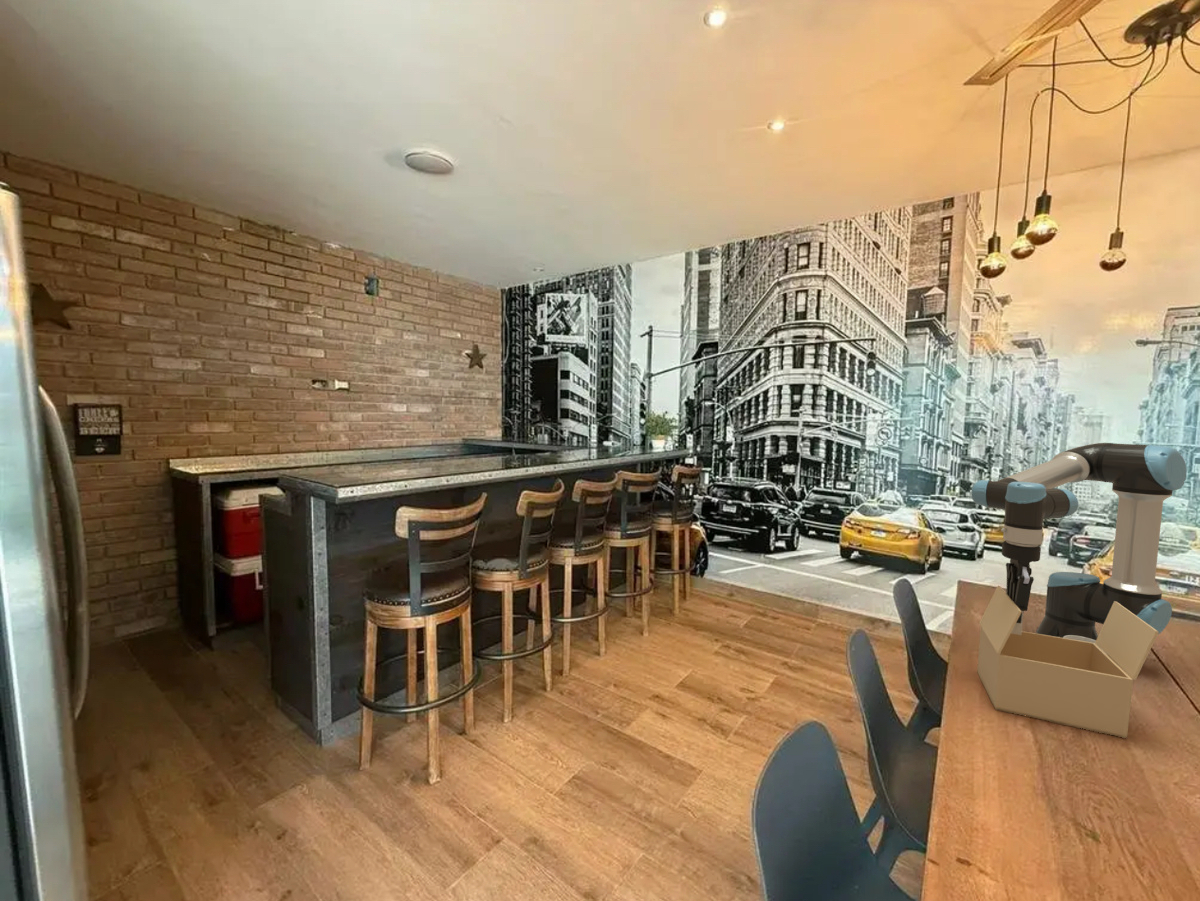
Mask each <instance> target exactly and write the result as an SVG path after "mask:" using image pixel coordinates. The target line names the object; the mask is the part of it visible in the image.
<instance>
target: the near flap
mask: <svg viewBox="0 0 1200 901" xmlns="http://www.w3.org/2000/svg"><path fill="white" fill-rule="evenodd" d="M1158 633H1159V632H1158V631H1157V630H1155V629H1154V628H1153V627H1151V626H1150V625H1149V624H1147V623H1146V622H1144V621H1143V620H1142V619H1140V618H1139V617H1137V616H1136V615H1135V614H1133V613H1132V612H1130V611H1129V610H1128V609H1126V608H1125V607H1123V606H1122V605H1121V604H1119V603H1118V602H1116V601H1114V603H1113V605H1112V607H1111V609H1110V611H1109V613H1108V616H1107V618H1106V620H1105V622H1104V624H1102V627H1101V629H1100V631H1099V633H1098V634H1097V635H1098V637H1097V639H1096V642H1095V643H1096V644H1097V645H1098V646H1099V647H1100V648H1101V649H1102V650H1103V651H1104V652H1105V653H1107V654H1108V656H1109V657H1110V658H1111V659H1112V660H1113V661H1114V662H1115V663H1116V664H1117V665H1118V666H1119V667H1120V668H1121V669H1122V670H1123V671H1125V672H1126V673H1127V674H1128V675H1129V676H1130V677H1131V678H1132V679H1133V680H1137V679H1138V676H1139V675H1140V672H1141V670H1142V668H1143V666H1144V664H1145V661H1146V659H1147V657H1148V655H1149V654H1150V651H1151V649H1152V647H1153V645H1154V643H1155V641H1156V639H1157V637H1158V635H1159V634H1158Z"/></svg>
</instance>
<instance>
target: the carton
mask: <svg viewBox="0 0 1200 901" xmlns="http://www.w3.org/2000/svg"><path fill="white" fill-rule="evenodd" d="M979 631H980V632H979V645H978V646H979V647H978V655H977V656H978V657H977V658H978V659H977V668H976V669H977V670H976V673H977V675H978V676H979V679H980V681H981V684H982V685H983V687H984V689H985V691H986V694H987V696H988V697H989V700H990V702H991V703H992V706H993V708H994V710H995V711H999V712H1004V713H1009V714H1012V713H1014V714H1013V715H1017V714H1019V715H1018V716H1021V715H1026V716H1030V717H1034V718H1033V719H1035V718H1037V719H1036V720H1039V719H1042V720H1041V721H1044V720H1047V721H1046V722H1048V721H1049V722H1050V723H1052V724H1053V723H1054V724H1058V725H1062V726H1068V727H1071V728H1075V727H1076V729H1080V728H1081V730H1084V729H1086V730H1085V731H1089V730H1090V732H1093V731H1094V733H1098V732H1099V734H1102V733H1105V734H1104V735H1107V734H1110V735H1109V736H1111V735H1115V736H1114V737H1116V736H1118V737H1117V738H1120V737H1122V738H1121V739H1125V738H1126V740H1128V731H1129V723H1130V713H1131V706H1132V704H1131V703H1132V696H1133V687H1134V679H1133V678H1132V677H1131V676H1130V675H1129V674H1128V673H1127V672H1125V671H1124V670H1123V669H1122V668H1121V667H1120V666H1119V665H1118V664H1117V663H1116V662H1115V661H1114V660H1113V659H1112V658H1111V657H1110V656H1109V655H1107V654H1106V653H1105V652H1104V651H1102V650H1101V649H1100V648H1099V647H1098V646H1097V645H1096V644H1095V643H1091V642H1085V641H1079V640H1073V639H1067V638H1061V637H1055V636H1049V635H1043V634H1037V633H1036V632H1029V631H1024V630H1022V635H1017V634H1010V635H1009V637H1008V639H1007V641H1006V643H1005V645H1004V647H1003V649H1002V651H1001V653H1000V654H998V653H997V652H996V650H995V649H994V647H993V645H992V644H991V642H990V640H989V639H988V637H987V635H986V634H985V632H984V630H983V629H982V627H981V626H980V630H979ZM1026 716H1025V717H1026ZM1030 717H1029V718H1030ZM1082 728H1083V729H1082Z"/></svg>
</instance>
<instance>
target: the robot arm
mask: <svg viewBox="0 0 1200 901" xmlns="http://www.w3.org/2000/svg"><path fill="white" fill-rule="evenodd" d="M1186 480H1187V465H1186V461H1185V458H1184V457H1183V456H1182V454H1181V452H1179V451H1178V450H1177V449H1175V448H1173V447H1170V446H1164V445H1157V444H1156V445H1155V444H1131V443H1113V442H1097V443H1090V444H1085V445H1081V446H1077V447H1074V448H1070V449H1066V450H1064V451H1062V452H1059V453H1057V454H1056V455H1054V456H1053V457H1052V459H1051V460H1048V461H1046V462H1043V463H1040V464H1038V465H1035V466H1032V467H1030V468H1028V469H1025V470H1023V471H1019V472H1018V473H1014V474H1012V475H1009V476H1006V477H1004V478H1001V479H999V480H998V479H997V480H994V481H993V480H990V479H987V480H984V479H980V480H978V481H976V482H975V483H974V484H973V486H972V488H971V499H972V501H973V502H974V503H975V504H976V505H977V506H982V507H986V508H988V509H989V508H991V509H997V510H1002V511H1004V522H1003V524H1004V525H1003V527H1004V528H1001V529H1000V532H1001V533H1003V539H1002V540H1003V542H1002V545H1001V555H1002V556H1003V557H1004V558H1006V559H1010V560H1009V562H1006V564H1005V569H1006V591H1005V592H1006V594H1007V595H1008V596H1009V597H1010V598H1011V599H1012V601H1013V602H1014V603H1015V604H1016V605H1017V607H1018V608H1019V609H1020V610H1021V611H1022V613H1021V614H1020V616H1019V618H1018V620H1017V622H1016V624H1015V626H1014V628H1013V630H1012V632H1011V634H1017V635H1022V631H1023V626H1024V625H1023V622H1024V612H1027V611H1028V607H1029V602H1030V597H1031V596H1030V595H1031V592H1032V591H1031V590H1032V585H1033V583H1034V580H1035V578H1034V576H1032V574H1033V573H1032V567H1031V566H1030V563H1032V562H1033V563H1036V562H1039V561H1040V560H1041V553H1042V552H1041V550H1042V547H1040V545H1042V543H1043V530H1044V529H1043V525H1044V520H1045V519H1048V520H1050V519H1063V518H1066V517H1069V516H1072V515H1073V514H1075V513H1076V512H1077V510H1078V507H1079V500H1078V498H1077V496H1076V495H1075V493H1073V491H1070V490H1069V489H1065V488H1058V487H1060V486H1062V485H1065V484H1068V483H1071V484H1072V483H1073V484H1075V483H1079V482H1082V481H1094V482H1103V483H1108V484H1109V483H1110V484H1112V488H1111V489H1112V490H1111V491H1112V492H1113V493H1115V494H1116V495H1117V496H1118V501H1117V502H1118V504H1117V505H1118V506H1117V514H1116V523H1115V524H1116V526H1115V536H1114V544H1113V546H1114V547H1113V556H1112V565H1111V566H1112V567H1111V576H1110V577H1108V578H1106V579H1104V580H1103V582H1102V583H1101V579H1100V577H1099V576H1097V575H1094V574H1089V573H1082V572H1072V571H1057V572H1053V573H1051V574H1049V576H1048V579H1047V584H1046V588H1047V589H1046V600H1045V610H1044V611H1045V612H1044V617H1043V618H1042V620H1041V622H1040V624H1039V625H1038V627H1037V629H1036V632H1035V633H1037V634H1043V635H1049V636H1055V637H1061V638H1063V637H1064V636H1066V635H1075V636H1081V637H1086V638H1090V639H1093V640H1096V639H1097V637H1098V635H1099V634H1098V632H1097V629H1096V623H1097V624H1101V625H1103V624H1104V622H1105V620H1106V618H1107V616H1108V613H1109V611H1110V609H1111V607H1112V605H1113V603H1114V601H1116V602H1118V603H1119V604H1121V605H1122V606H1123V607H1125V608H1126V609H1128V610H1129V611H1130V612H1132V613H1133V614H1135V615H1136V616H1137V617H1139V618H1140V619H1142V620H1143V621H1144V622H1146V623H1147V624H1149V625H1150V626H1151V627H1153V628H1154V629H1155V630H1157V631H1158V632H1159V633H1158V635H1160V634H1161V633H1162V632H1163V631H1164V630H1165V629H1166V627H1167V625H1168V624H1169V622H1170V620H1171V617H1172V613H1173V607H1172V604H1171V602H1170V601H1168V600H1166V599H1163V598H1162V595H1163V591H1162V589H1160V588H1159V587H1158V586H1157V585H1156V575H1157V573H1156V572H1157V567H1158V566H1157V565H1158V556H1159V545H1160V536H1161V535H1160V534H1161V526H1162V517H1163V516H1162V515H1163V506H1164V501H1166V500H1167V499H1168V498H1170V497H1172V496H1173V491H1177V490H1179V489H1181V488H1182V487H1184V485H1185V481H1186Z"/></svg>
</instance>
